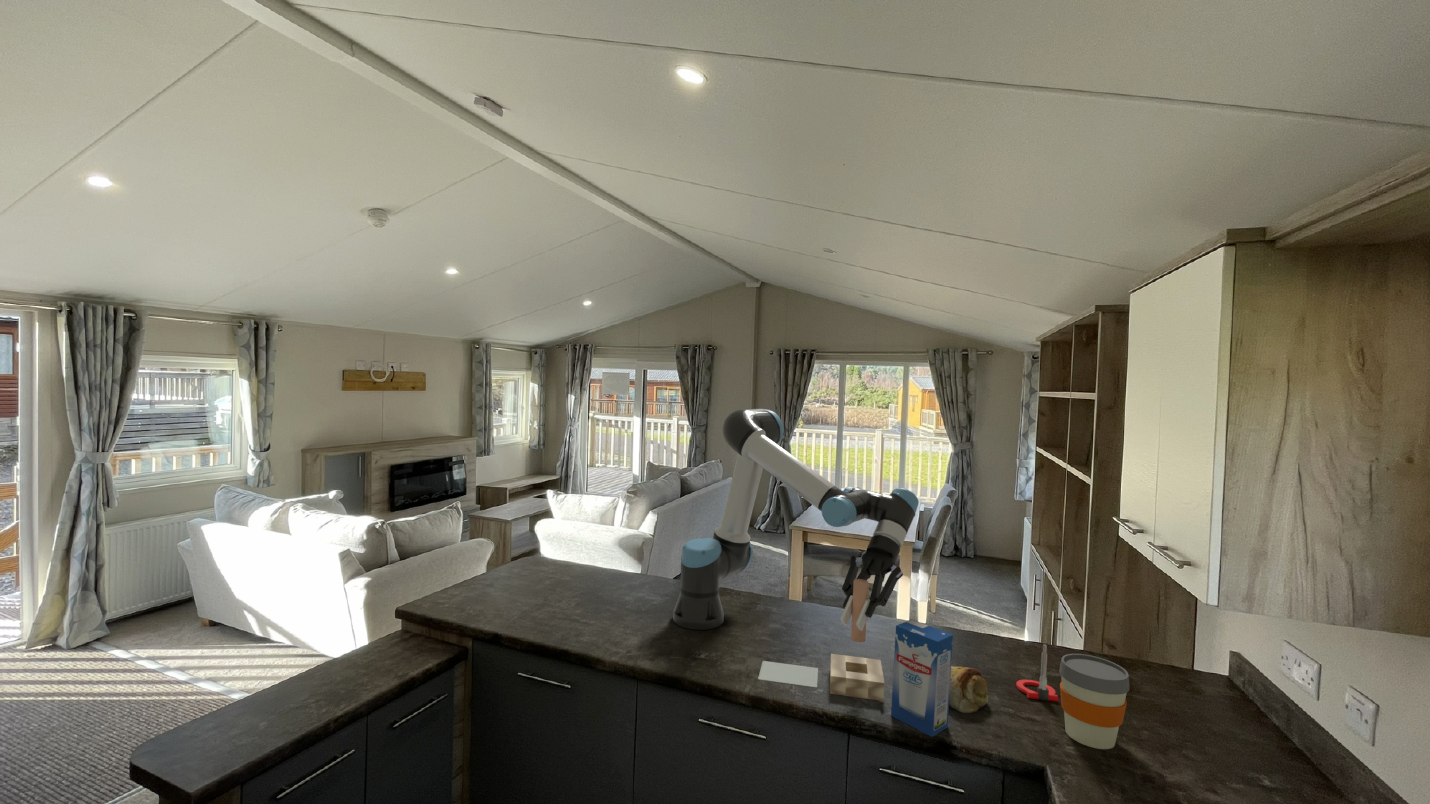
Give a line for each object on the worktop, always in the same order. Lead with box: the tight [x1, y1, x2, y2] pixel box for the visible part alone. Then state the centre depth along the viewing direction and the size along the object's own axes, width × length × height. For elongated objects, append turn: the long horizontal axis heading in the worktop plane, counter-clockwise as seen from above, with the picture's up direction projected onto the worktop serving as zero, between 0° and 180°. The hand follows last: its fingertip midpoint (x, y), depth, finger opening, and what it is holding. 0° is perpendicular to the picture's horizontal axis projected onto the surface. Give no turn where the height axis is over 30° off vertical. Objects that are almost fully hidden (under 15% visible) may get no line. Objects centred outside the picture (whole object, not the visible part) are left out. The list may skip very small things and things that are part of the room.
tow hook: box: [1015, 643, 1059, 702], centre depth 147 cm, size 8×13×9 cm
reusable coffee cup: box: [1058, 653, 1130, 750], centre depth 128 cm, size 13×13×15 cm
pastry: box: [949, 665, 989, 714], centre depth 142 cm, size 14×12×8 cm
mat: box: [757, 660, 819, 688], centre depth 149 cm, size 14×10×1 cm
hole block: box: [829, 653, 885, 703], centre depth 145 cm, size 12×12×4 cm
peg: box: [850, 578, 869, 643], centre depth 144 cm, size 3×3×14 cm
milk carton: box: [890, 619, 954, 738], centre depth 130 cm, size 10×6×20 cm, turn 40°
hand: (851, 624), depth 142 cm, fingers closed on peg, 3 cm apart
